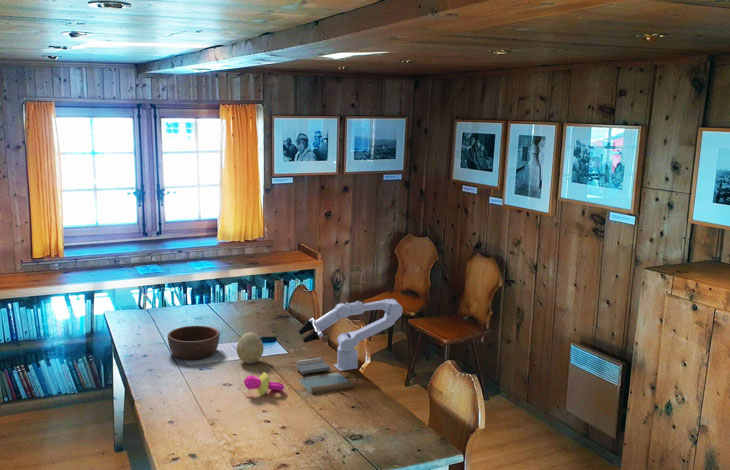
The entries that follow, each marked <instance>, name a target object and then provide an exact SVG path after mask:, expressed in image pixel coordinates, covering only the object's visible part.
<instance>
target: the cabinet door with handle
mask: <svg viewBox="0 0 730 470" xmlns="http://www.w3.org/2000/svg"><path fill="white" fill-rule="evenodd" d="M296 362H297V363H296V364H294V365H295V368H296V369H297V371H298V372H300V373H301V375H302V376H306V374H309V373H310V374H311V373H317V372H323V371H324V372H325V373H327V372H329V371H331V366H330V365H328V363H326V362H325V360H323V358H322V357H316V358H310V359H302V360H297V361H296Z"/></svg>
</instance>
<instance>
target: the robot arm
mask: <svg viewBox="0 0 730 470" xmlns="http://www.w3.org/2000/svg"><path fill="white" fill-rule="evenodd" d="M376 310H381V311H384V315H383V317H382V318H379V319H378V320H376V321H373V322H371V323H369V324H367V325H365V326H363V327H361V328H359V329H357V330H355V331H349V332H344V333H343V332H342V333H340V334H339V335H338V336H337V339H336V342H337V344H338V347H337V352H336V353H337V354H336V355H337V357H336V360H337V361H336V363H335V364H333V366H334V367H335V368H336V369H338V370H339V371H340V372H343V371H349V370H355V369H359V367H358V365H359V363H358V359H359V354H358V350H357V348H356V347H357V346H358V345H359V343H360V342H361V341H364V340H366V339H369V338H370V337H372V336H374V335H376V334H378V333H380V332H382V331H384V330H386V329H389V328H391V327H393V325H394V324H395V323H396V321H397V320H398V319H399V318H400V317H402V315H403V310H404V308H403V306H402V305H401V304H400V303H399V302H398V301H397V299H395V298H385V299H382V300H377V301H371V302H366V303H364V302H362V301H359V300H356V301H355V302H350V303H349V302H346V303H342V302H341V303H337V304H335V306H334V308H332V309H331V310H330V311H328V312H327V313H325V314H324V315H322V316H320V317H319V318H318V319H316V320H315V318H314V317H311V318H310V319H307V320H306V321H305V323H304V324H303V326H302V327H300V329H299V330H298V333H299V335H304V334H305V333H307V332H310V333H308V334H307V335H305V336H304V337H303V338H302V341H303V343H304V344H306V343H309V342H312V341H319V340H320V338H322V337H324V334H323V331H324V330H326V329H327V328H329V327H330V326H332V325H333V324H335V323H337V322H338V321H340V320H341V319H346V318H348V317H349V316H356V315H363V314H364V313H365V312H366V311H367V312H368V311H376Z"/></svg>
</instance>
